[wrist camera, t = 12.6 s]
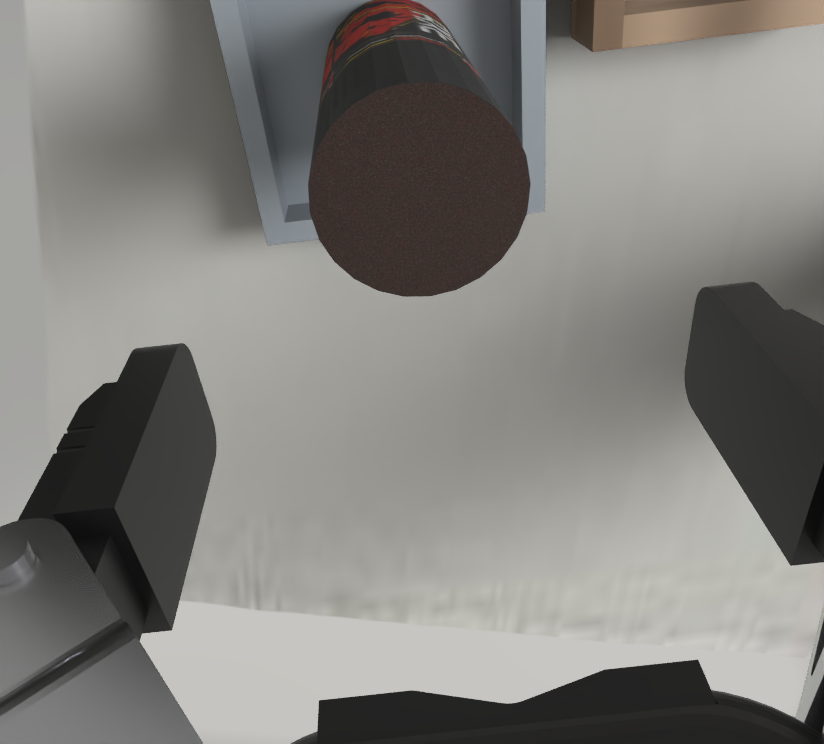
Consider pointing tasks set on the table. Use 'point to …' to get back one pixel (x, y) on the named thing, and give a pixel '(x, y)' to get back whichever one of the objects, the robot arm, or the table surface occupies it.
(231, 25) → the tray
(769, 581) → the table surface
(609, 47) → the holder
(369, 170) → the deodorant
